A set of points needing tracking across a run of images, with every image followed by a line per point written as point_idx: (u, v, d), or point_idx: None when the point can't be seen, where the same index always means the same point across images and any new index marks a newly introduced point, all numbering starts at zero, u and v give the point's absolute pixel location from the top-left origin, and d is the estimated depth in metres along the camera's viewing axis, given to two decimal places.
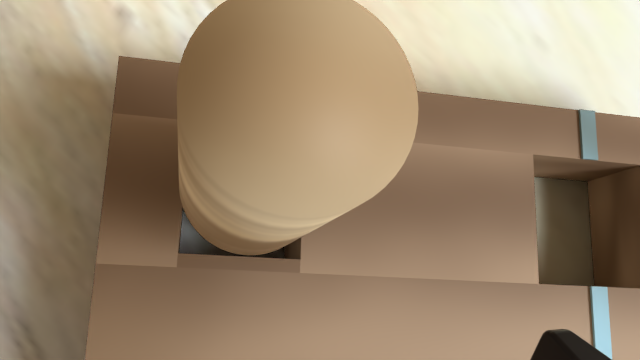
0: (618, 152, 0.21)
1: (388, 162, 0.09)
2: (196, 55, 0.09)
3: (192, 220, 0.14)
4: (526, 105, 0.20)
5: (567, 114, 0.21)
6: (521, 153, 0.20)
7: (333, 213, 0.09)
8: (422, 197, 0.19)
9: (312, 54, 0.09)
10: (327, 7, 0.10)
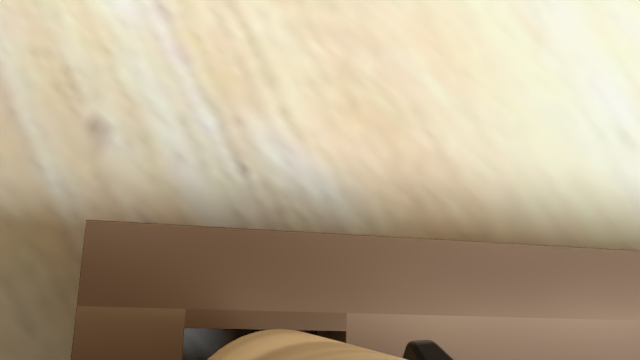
0: None
1: None
2: None
3: None
4: (634, 252, 0.15)
5: None
6: (630, 320, 0.15)
7: None
8: None
9: None
10: None
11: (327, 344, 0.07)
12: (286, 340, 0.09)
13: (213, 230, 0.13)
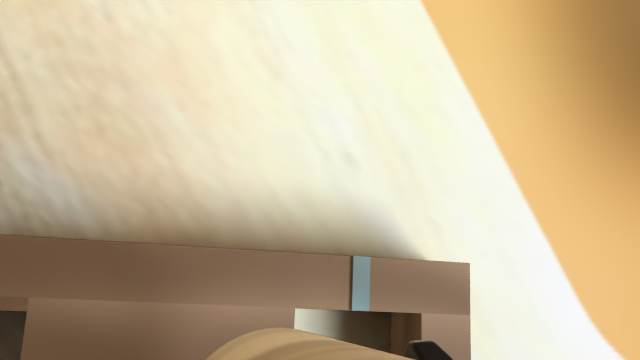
0: (395, 300, 0.20)
1: None
2: None
3: None
4: (292, 253, 0.19)
5: (339, 261, 0.20)
6: (281, 308, 0.19)
7: None
8: None
9: None
10: None
11: (326, 343, 0.07)
12: (285, 339, 0.09)
13: None
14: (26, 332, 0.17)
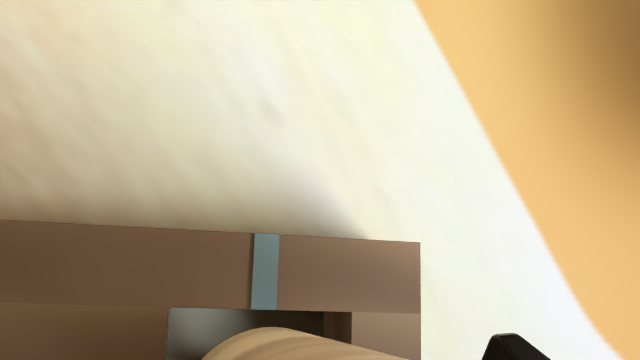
0: (314, 294, 0.14)
1: None
2: None
3: None
4: (166, 230, 0.14)
5: (234, 241, 0.14)
6: (147, 307, 0.13)
7: None
8: None
9: None
10: None
11: (309, 339, 0.08)
12: (274, 336, 0.09)
13: None
14: None
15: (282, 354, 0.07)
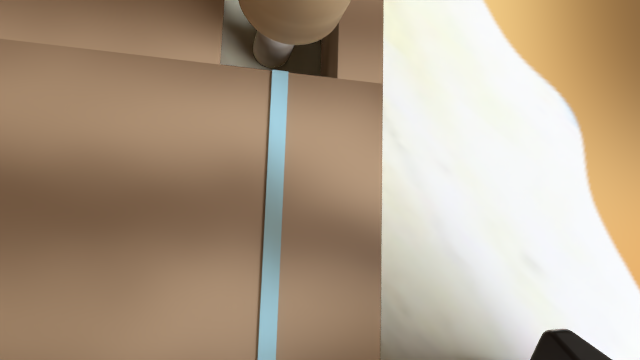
0: None
1: None
2: None
3: (250, 7, 0.19)
4: None
5: None
6: None
7: None
8: None
9: None
10: None
11: None
12: None
13: None
14: None
15: None
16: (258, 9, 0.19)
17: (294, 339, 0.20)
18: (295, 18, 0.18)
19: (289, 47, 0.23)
